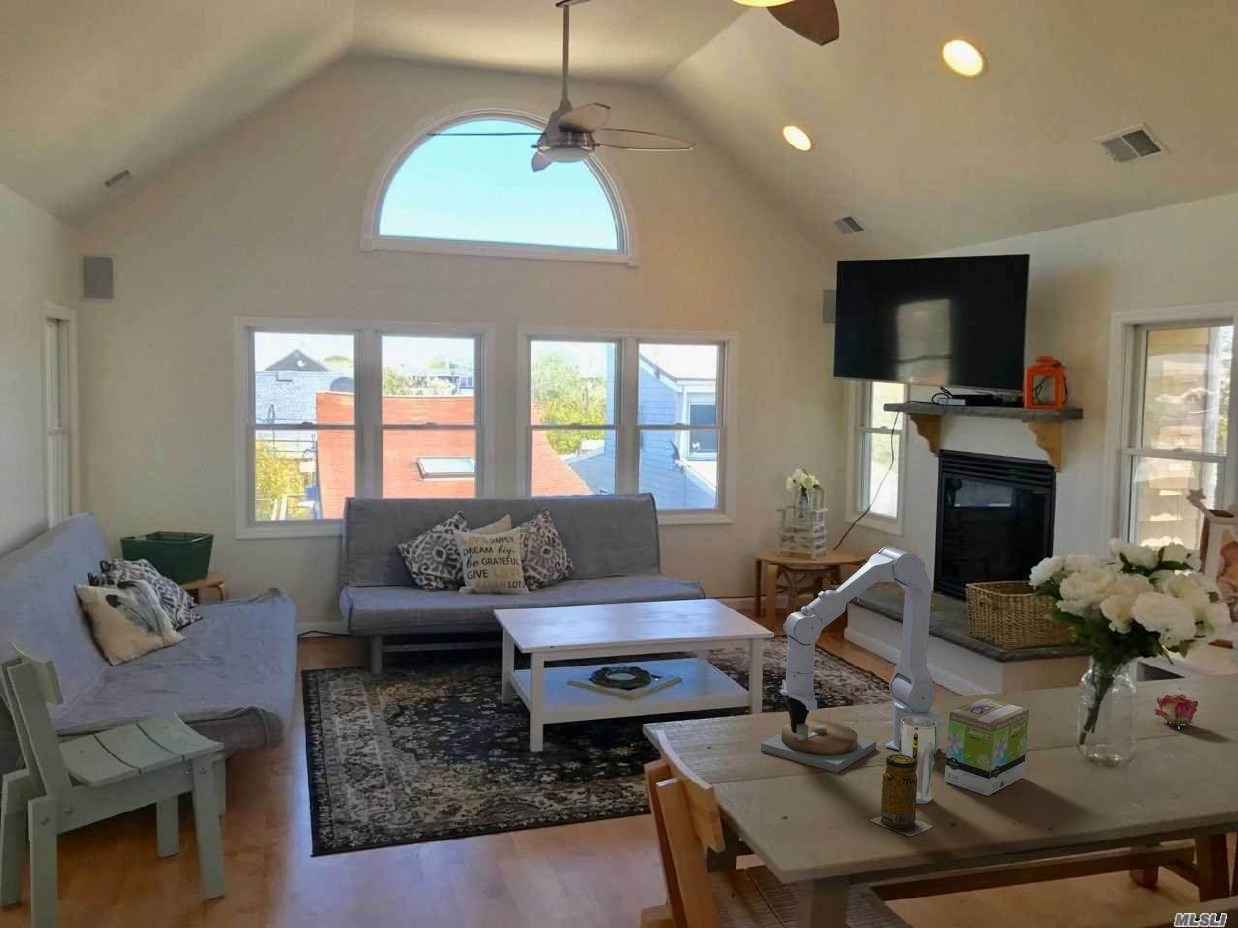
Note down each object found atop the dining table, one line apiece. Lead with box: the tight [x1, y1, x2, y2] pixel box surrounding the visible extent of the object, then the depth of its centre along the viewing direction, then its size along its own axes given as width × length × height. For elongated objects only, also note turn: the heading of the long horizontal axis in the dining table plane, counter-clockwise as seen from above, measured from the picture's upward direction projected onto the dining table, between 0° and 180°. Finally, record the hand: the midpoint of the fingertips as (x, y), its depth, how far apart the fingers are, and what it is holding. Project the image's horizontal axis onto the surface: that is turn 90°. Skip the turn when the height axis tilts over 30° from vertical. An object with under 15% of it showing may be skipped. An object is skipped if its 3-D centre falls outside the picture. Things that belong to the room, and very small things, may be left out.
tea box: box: [943, 697, 1030, 797], centre depth 207 cm, size 15×10×15 cm, turn 134°
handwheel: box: [781, 719, 859, 755], centre depth 222 cm, size 16×16×5 cm
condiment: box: [870, 753, 934, 837], centre depth 186 cm, size 7×8×12 cm
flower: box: [1153, 694, 1199, 727], centre depth 242 cm, size 10×9×8 cm
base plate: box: [760, 732, 877, 774], centre depth 222 cm, size 18×18×2 cm
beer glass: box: [898, 716, 937, 805], centre depth 197 cm, size 7×7×15 cm
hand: (797, 732), depth 219 cm, fingers closed, pressing on handwheel
